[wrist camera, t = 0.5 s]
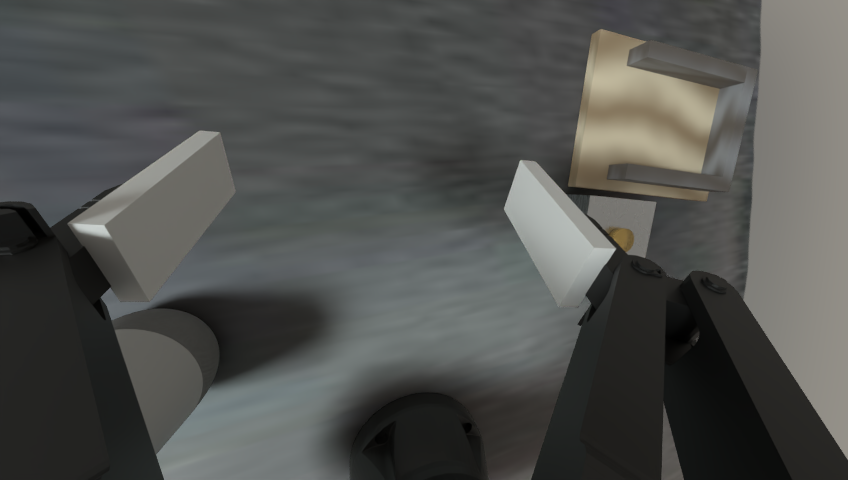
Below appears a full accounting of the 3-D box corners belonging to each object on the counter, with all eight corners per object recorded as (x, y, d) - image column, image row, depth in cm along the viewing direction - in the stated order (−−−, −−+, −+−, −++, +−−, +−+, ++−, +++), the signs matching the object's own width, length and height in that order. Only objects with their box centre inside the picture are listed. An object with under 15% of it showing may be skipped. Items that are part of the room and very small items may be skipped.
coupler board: (696, 200, 41) (728, 202, 37) (567, 186, 35) (592, 186, 32) (725, 70, 38) (763, 59, 35) (592, 34, 33) (621, 16, 29)
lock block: (592, 264, 38) (648, 281, 31) (536, 262, 36) (582, 280, 29) (604, 199, 37) (664, 202, 30) (546, 193, 35) (597, 195, 28)
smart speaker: (116, 403, 28) (-96, 609, 14) (95, 305, 26) (-169, 433, 13) (235, 384, 30) (148, 546, 16) (222, 293, 28) (114, 391, 15)
